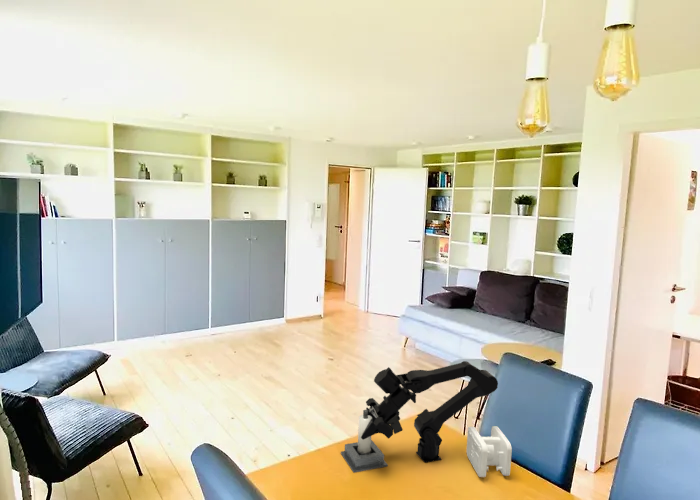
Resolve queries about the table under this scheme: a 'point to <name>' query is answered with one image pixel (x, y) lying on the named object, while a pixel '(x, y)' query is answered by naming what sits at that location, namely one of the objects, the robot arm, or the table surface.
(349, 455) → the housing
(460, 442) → the table surface
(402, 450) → the table surface
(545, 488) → the table surface
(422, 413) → the robot arm
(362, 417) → the white bottle
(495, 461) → the cable organizer
